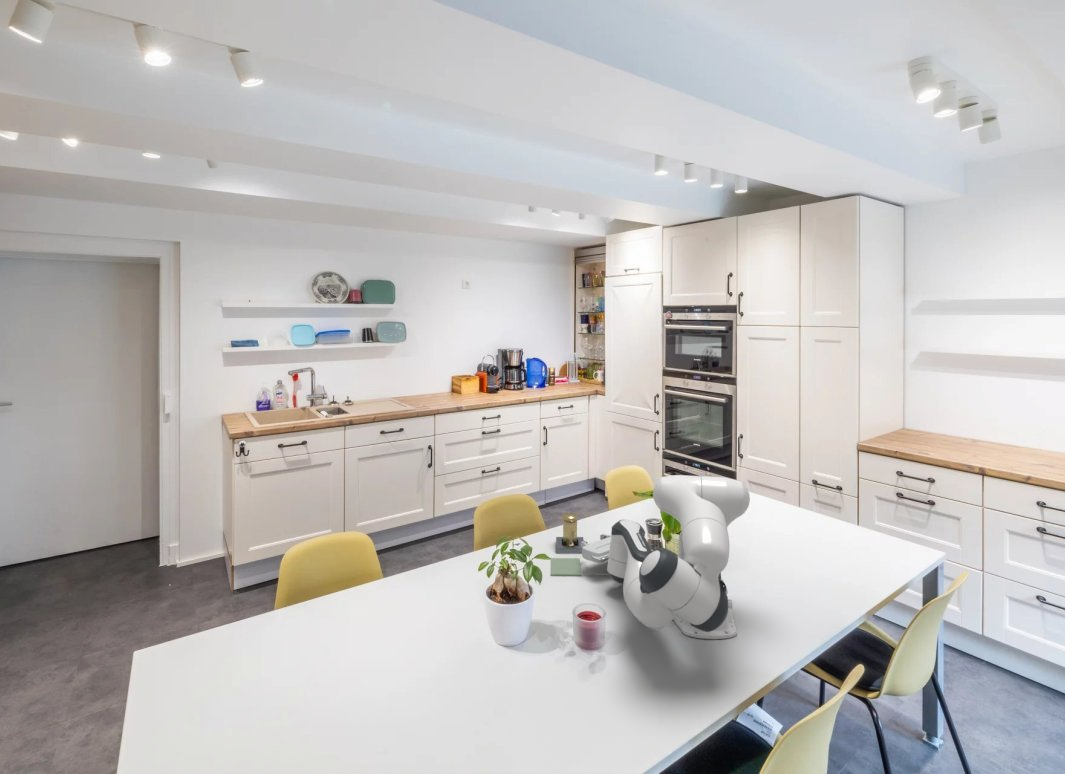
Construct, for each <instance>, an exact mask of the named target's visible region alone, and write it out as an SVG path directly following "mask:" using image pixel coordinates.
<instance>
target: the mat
mask: <svg viewBox="0 0 1065 774" xmlns="http://www.w3.org/2000/svg"><path fill="white" fill-rule="evenodd" d="M581 567H582V565H581V559H580V558H579V557H577V558H575V557H573V558H572V557H570V558H569V557H566V558H565V557H561V558H560V557H559V558H558V557H553V558H552V557H551V558H550V576H551V577H583V574H582V568H581Z"/></svg>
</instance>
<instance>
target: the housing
mask: <svg viewBox="0 0 1065 774" xmlns="http://www.w3.org/2000/svg"><path fill="white" fill-rule="evenodd" d="M583 541H585V539H584V537H583V536H577V546H563V536H556V538H555V545H556V549H555V550H556V554H559V555H570V554H573V555H575V554H576V555H582V547H581V542H583Z"/></svg>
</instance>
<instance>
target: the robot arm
mask: <svg viewBox="0 0 1065 774" xmlns="http://www.w3.org/2000/svg"><path fill="white" fill-rule="evenodd" d="M652 490H653V491H652V497H653V501H654V503H655V505H656V507H657V508H658V509H659V510H660V511H661V512H664V513H666V514H668V515H670V516H671V517H673V518H674V519H676V520H677V522H678V523H679V524H680V528H681V531H680V533H679V535H678V554H677V553H676V552H674V551H672V550H670V549H668V548H666V547H665V548H664V547H659V548H655V549H652V548H651V546H650V545H649V543H648V540H647V539H646V530H645V529H644V528H643V526H642V525H641V524H640V523H638V522H636V521H634V520H630V519H620V520H618V521H616V522H615V523H614V524H613V525H612V526H611V533H610V534H606V533H602V534H600V535H599V539H600V540H597V541H594V542H593V543H589V544H588V542H587V541H585V540H584V541H583V542H581V547H582V554H581V555H582V558H583V559H585V560H586V561H590V562H593V563H597V564H600V563H604V562H606V561H607V566H606V567H607V568H606V572H607V574H608V576H609V577H610V579H612V580H613V581H614V582H616V583H619V584H622V593H623V594H622V595H623V599H624V602H625V604H626V605H627V608H628V609H629V610H630V612H631V614H632V615H633V616H634V617H635V619H637V620H638V621H639V622H640V623H641V624H642V625H644V626H645V627H647V628H649V629H651V630H652V629H653V630H661V629H664V628H666V627H668V626H669V625H670V624H671V623H672V621H673V622H674V623H675V625H677V627H678V628H679V629H680V631H681V632H682V633H683V634H684V635H685V636H688V637H690V638H691V637H692V638H697V639H703V640H705V639H706V640H722V639H731V638H734V637H736V636H737V634H738V633H737V628H736V624H735V623H736V622H735V620H734V615H733V611H732V609H733V600H732V599H728V587H727V585H726V583H725V582H724V579H723V578H722V572H723V571H724V570H725V569H726V567H727V565H728V563H729V559H730V558H729V557H730V538H729V537H730V536H729V531H728V526H729V525H731V523H732V522H733V521H735V520H736V519H738V518H740V517H741V516H743V515H744V514H745V513H747V512H746V511H747V510H748V508H749V505H750V500H751V497H750V492H749V489H748V487H747V486H746V484H744V483H743V481H741V480H737V479H735V478H734V479H733V478H730V477H726V476H725V477H724V476H709V475H707V476H706V475H685V474H683V475H682V474H674V475H673V474H672V475H666V476H661V477H659V478H658V480H657V481H656V482H655V484H654V487H653V489H652Z"/></svg>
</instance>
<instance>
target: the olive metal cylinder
mask: <svg viewBox="0 0 1065 774" xmlns="http://www.w3.org/2000/svg"><path fill="white" fill-rule="evenodd" d="M561 520H562V529H563V530H562V537H563V546H577V537H578V520H579V514H578V513H576V512H570V511H567V512H564V513H562V514H561Z"/></svg>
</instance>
